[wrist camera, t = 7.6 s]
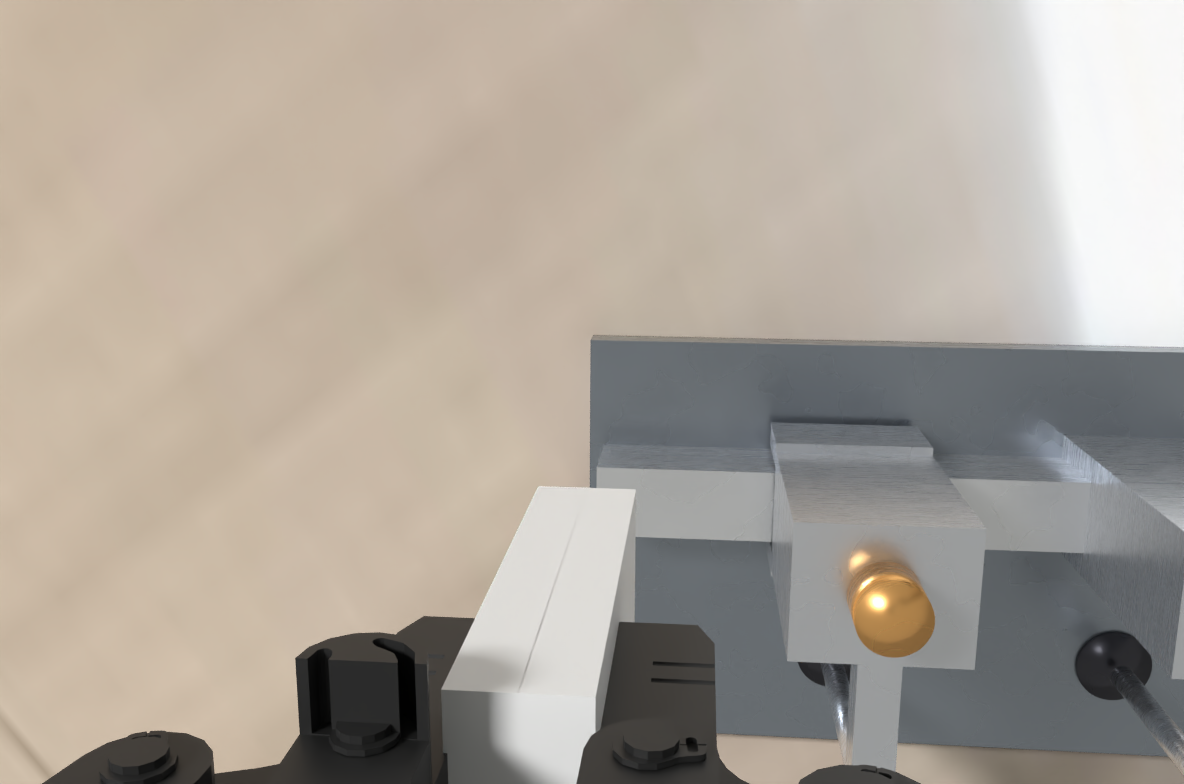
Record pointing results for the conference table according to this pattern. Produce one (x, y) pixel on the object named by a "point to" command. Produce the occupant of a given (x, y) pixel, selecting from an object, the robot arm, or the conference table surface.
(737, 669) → the flange plate
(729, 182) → the conference table surface
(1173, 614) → the fixed leg
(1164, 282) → the conference table surface
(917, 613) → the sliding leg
